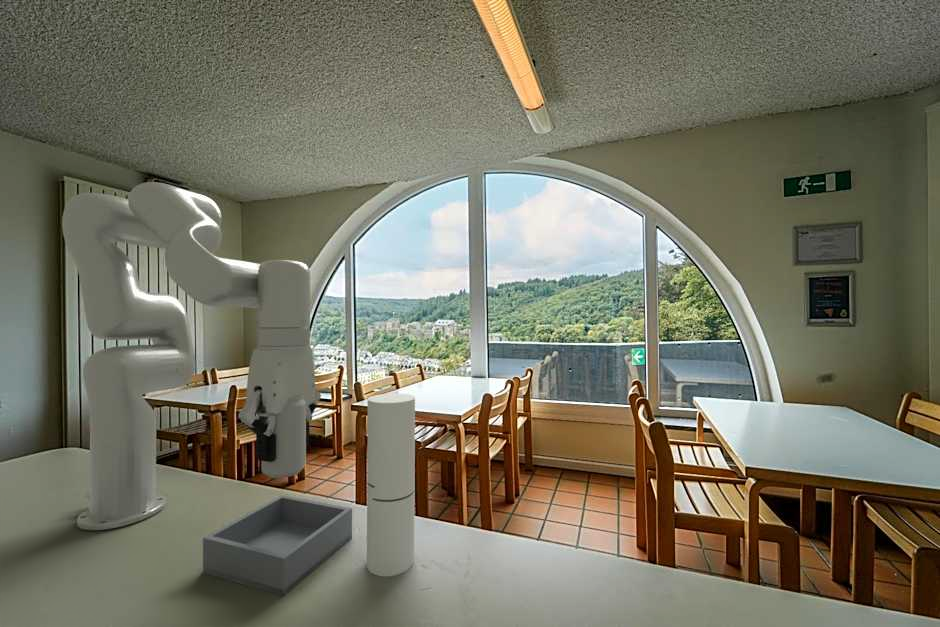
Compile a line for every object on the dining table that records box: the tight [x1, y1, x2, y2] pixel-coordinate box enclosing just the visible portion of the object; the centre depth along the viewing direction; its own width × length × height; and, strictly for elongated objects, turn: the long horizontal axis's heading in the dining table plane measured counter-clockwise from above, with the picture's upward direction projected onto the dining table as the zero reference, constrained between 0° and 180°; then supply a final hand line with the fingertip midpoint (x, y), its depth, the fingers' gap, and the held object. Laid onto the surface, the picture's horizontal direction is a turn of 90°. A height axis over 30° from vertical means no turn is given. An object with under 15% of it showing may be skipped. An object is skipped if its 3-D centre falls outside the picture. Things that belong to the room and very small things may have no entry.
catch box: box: [202, 494, 353, 597], centre depth 63 cm, size 15×15×5 cm
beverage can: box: [261, 396, 307, 479], centre depth 64 cm, size 6×6×12 cm
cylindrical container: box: [366, 393, 416, 578], centre depth 62 cm, size 7×7×25 cm
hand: (283, 451), depth 64 cm, fingers closed on beverage can, 6 cm apart
